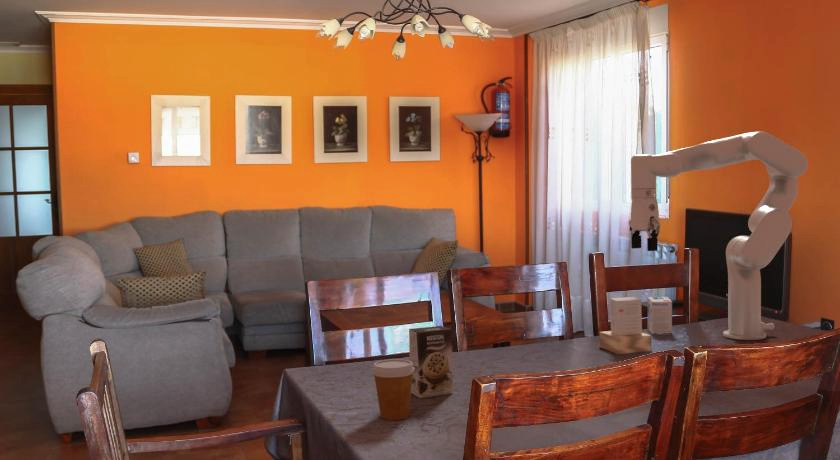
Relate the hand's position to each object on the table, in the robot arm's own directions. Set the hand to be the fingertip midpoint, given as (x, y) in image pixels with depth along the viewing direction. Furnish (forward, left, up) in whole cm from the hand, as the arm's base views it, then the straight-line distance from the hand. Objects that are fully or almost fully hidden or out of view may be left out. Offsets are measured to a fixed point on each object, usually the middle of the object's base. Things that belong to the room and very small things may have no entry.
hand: (644, 249), depth 262 cm
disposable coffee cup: (+93, +54, -28) cm, 111 cm away
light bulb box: (-11, -10, -29) cm, 32 cm away
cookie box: (+80, +38, -28) cm, 93 cm away
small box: (+12, +10, -24) cm, 29 cm away
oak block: (+12, +10, -29) cm, 33 cm away
